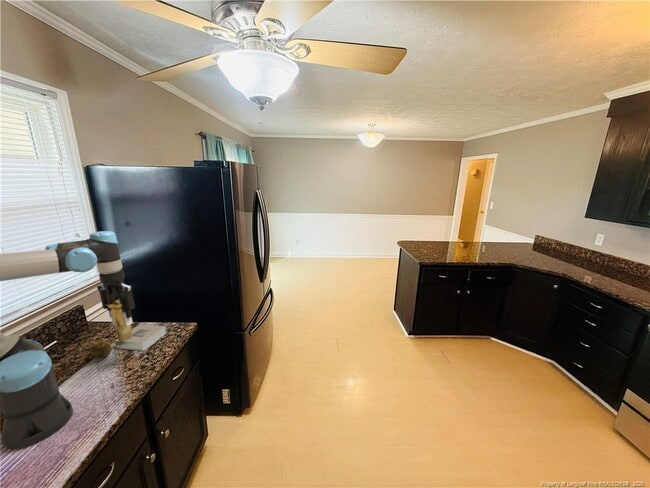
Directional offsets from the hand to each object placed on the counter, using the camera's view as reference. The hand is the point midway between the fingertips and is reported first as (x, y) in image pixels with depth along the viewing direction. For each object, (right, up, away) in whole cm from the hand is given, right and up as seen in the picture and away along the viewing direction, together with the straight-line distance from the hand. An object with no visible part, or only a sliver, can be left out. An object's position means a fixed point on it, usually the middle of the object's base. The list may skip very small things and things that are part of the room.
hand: (122, 324), depth 108 cm
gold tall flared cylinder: (0, -6, +1) cm, 6 cm away
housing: (-5, -13, +18) cm, 23 cm away
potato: (-15, -16, +8) cm, 23 cm away
